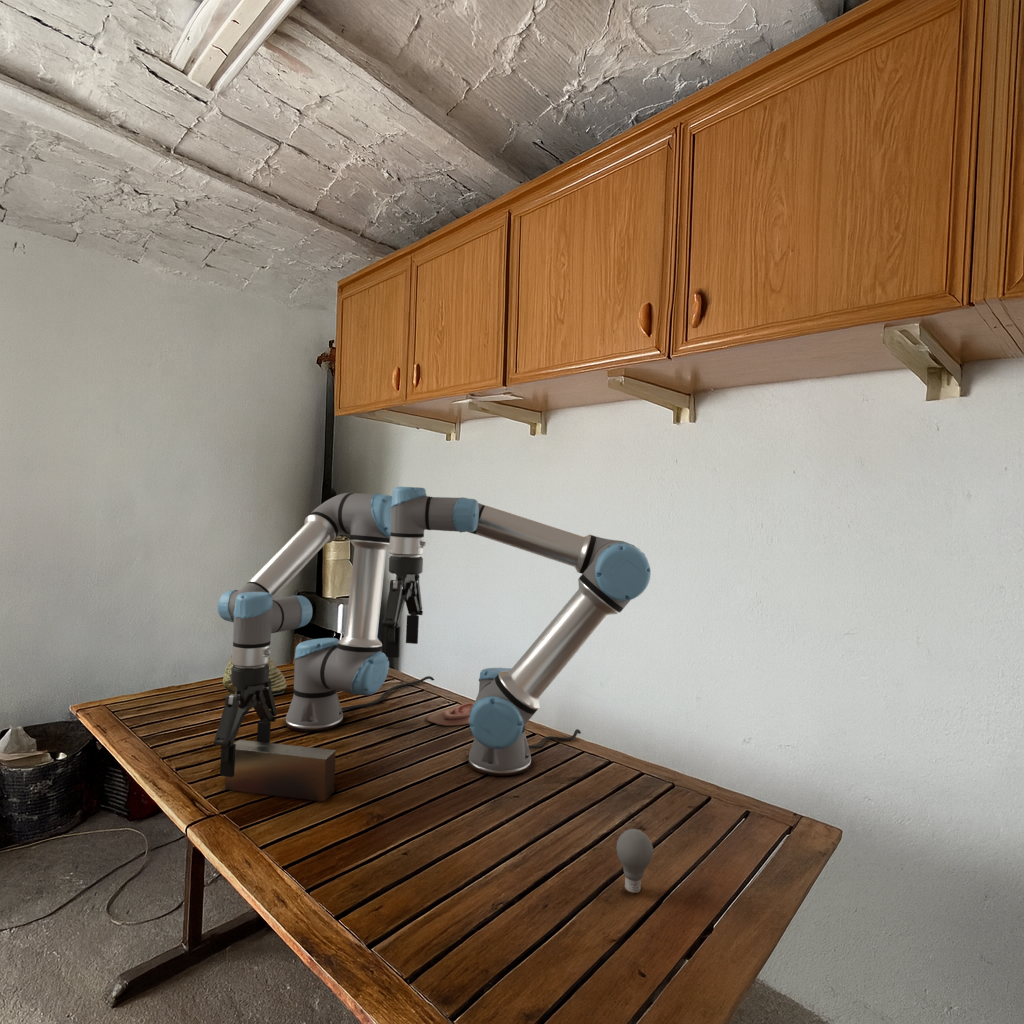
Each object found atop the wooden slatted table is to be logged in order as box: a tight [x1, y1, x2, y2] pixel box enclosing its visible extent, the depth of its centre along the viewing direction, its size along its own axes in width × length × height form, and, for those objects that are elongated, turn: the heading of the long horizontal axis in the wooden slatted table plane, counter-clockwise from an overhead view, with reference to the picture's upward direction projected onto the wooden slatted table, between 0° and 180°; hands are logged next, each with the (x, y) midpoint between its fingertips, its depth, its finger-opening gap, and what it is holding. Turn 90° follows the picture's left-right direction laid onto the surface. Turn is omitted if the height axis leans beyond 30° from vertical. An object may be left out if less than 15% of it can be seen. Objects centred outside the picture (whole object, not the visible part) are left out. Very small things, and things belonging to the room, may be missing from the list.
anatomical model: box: [426, 702, 475, 726], centre depth 183 cm, size 13×4×12 cm
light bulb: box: [615, 828, 654, 894], centre depth 106 cm, size 6×6×10 cm
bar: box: [224, 739, 337, 803], centre depth 136 cm, size 22×5×9 cm, turn 81°
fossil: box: [222, 654, 288, 696], centre depth 198 cm, size 9×18×15 cm, turn 132°
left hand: (245, 763), depth 136 cm, fingers open, 13 cm apart
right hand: (402, 649), depth 142 cm, fingers open, 13 cm apart
